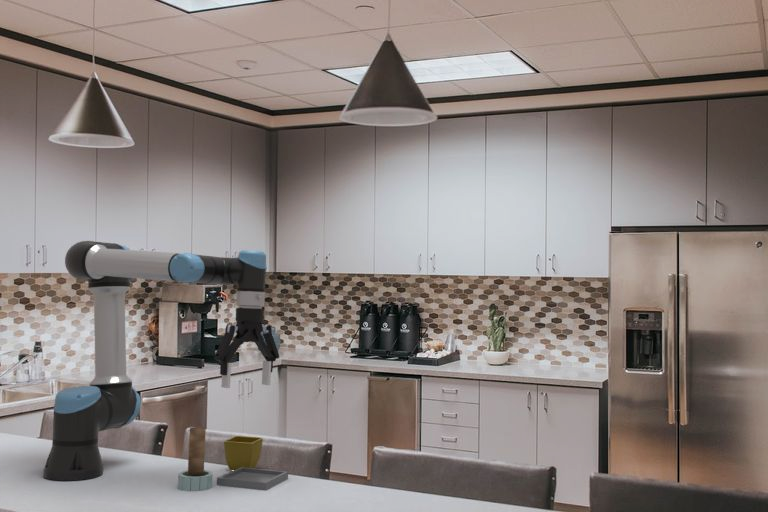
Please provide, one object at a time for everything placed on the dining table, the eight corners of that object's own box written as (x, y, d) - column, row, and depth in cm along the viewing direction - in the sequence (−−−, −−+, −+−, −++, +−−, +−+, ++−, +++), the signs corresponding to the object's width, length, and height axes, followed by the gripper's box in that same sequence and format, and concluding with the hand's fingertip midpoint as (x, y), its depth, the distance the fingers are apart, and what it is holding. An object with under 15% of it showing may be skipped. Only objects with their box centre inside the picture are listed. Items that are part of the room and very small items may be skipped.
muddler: (184, 487, 197) (186, 428, 198) (192, 484, 201) (194, 426, 202) (198, 489, 196) (200, 429, 197) (205, 486, 200) (208, 427, 201)
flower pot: (251, 475, 217) (252, 442, 217) (222, 472, 218) (223, 440, 219) (262, 468, 225) (263, 437, 226) (234, 466, 227) (235, 435, 227)
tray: (216, 487, 201) (217, 477, 201) (241, 476, 215) (241, 467, 215) (265, 492, 197) (265, 482, 197) (287, 481, 211) (288, 471, 211)
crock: (171, 491, 196) (172, 475, 196) (189, 484, 204) (189, 468, 204) (201, 494, 193) (201, 478, 194) (217, 487, 201) (218, 471, 202)
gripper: (220, 307, 197) (216, 390, 196) (294, 308, 216) (290, 385, 215) (203, 306, 202) (199, 387, 201) (276, 307, 221) (273, 382, 220)
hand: (246, 386), depth 208 cm, fingers open, 13 cm apart
